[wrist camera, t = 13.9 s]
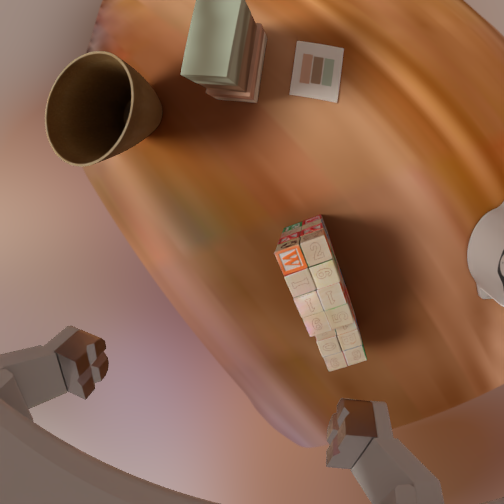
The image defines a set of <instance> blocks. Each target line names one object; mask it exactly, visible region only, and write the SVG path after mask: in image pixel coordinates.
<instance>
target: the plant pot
mask: <svg viewBox="0 0 504 504" xmlns="http://www.w3.org/2000/svg"><path fill="white" fill-rule="evenodd" d="M162 114H163V110H162V105H161V102H160V100H159V98H158V96H157V94H156V93H155V91H154V89H153V88H152V87H151V86H150V84H149V83H148V82H147V81H146V80H145V79H144V77H142V76H141V75H140V74H139V73H138V72H137V71H136V70H135V69H134V68H132V67H131V66H130V65H128V64H127V63H126V62H124V61H123V60H121V59H120V58H118V57H117V56H115V55H114V54H112V53H109V52H104V51H95V52H90V53H87V54H84V55H82V56H80V57H78V58H76V59H75V60H73V61H72V62H71V63H70V64H69V65H68V66H67V67H65V69H64V70H63V71H62V72H61V73H60V75H59V76H58V77H57V79H56V81H55V83H54V84H53V86H52V88H51V91H50V93H49V97H48V100H47V104H46V110H45V128H46V133H47V137H48V140H49V143H50V145H51V147H52V149H53V151H54V152H55V153H56V155H57V156H58V157H59V158H60V159H61V160H63V161H64V162H66V163H68V164H70V165H73V166H89V165H93V164H95V163H98V162H101V161H103V160H106V159H108V158H111V157H113V156H115V155H118V154H120V153H122V152H124V151H126V150H128V149H129V148H131V147H133V146H135V145H136V144H138V143H139V142H141V141H142V140H144V139H145V138H146V137H148V136H149V135H150V134H151V133H152V132H153V131H154V130H155V129H156V128H157V127H158V125H159V124H160V122H161V119H162Z"/></svg>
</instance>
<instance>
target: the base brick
mask: <svg viewBox="0 0 504 504" xmlns="http://www.w3.org/2000/svg"><path fill="white" fill-rule="evenodd" d="M256 25H257V30H256V36H255V42H254V48H253V54H252V60H251V66H250V72H249V79H248V85H247V92H246V93H244V92H233V91H219V90H209V89H207V88H206V94H208V95H210V96H212V97H214V98H216V99H218V100H229V101H240V102H250V103H257V101H258V94H259V88H260V81H261V75H262V68H263V62H264V55H265V49H266V43H267V36H266V34H265V31H264V29H263V26H262V24H260V23H256Z"/></svg>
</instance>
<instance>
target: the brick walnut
mask: <svg viewBox="0 0 504 504" xmlns="http://www.w3.org/2000/svg"><path fill="white" fill-rule="evenodd" d="M256 30H257V25H256V23H255V21H254V19H253V17H252V15H250V21H249V26H248V31H247V36H246V42H245V47H244V53H243V58H242V64H241V69H240V75H239V81H238V86H231V85H217V84H200V83H198V84H200V85H202V86H203V87H205V88H207V89H209V90H219V91H233V92H244V93H246V92H247V85H248V79H249V72H250V66H251V60H252V54H253V48H254V42H255V36H256Z"/></svg>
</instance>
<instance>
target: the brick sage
mask: <svg viewBox="0 0 504 504" xmlns="http://www.w3.org/2000/svg"><path fill="white" fill-rule="evenodd" d="M250 15H251V12H250V10H249V8H248V6H247V4H246V2H245V0H196V4H195V8H194V12H193V16H192V20H191V25H190V29H189V34H188V38H187V43H186V48H185V53H184V58H183V63H182V68H181V74H180V75H182V76H184V77H186V78H188V79H189V80H191V81H193V82H195V83H200V84H217V85H231V86H238V81H239V75H240V69H241V64H242V58H243V53H244V47H245V42H246V36H247V31H248V26H249V21H250Z"/></svg>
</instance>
